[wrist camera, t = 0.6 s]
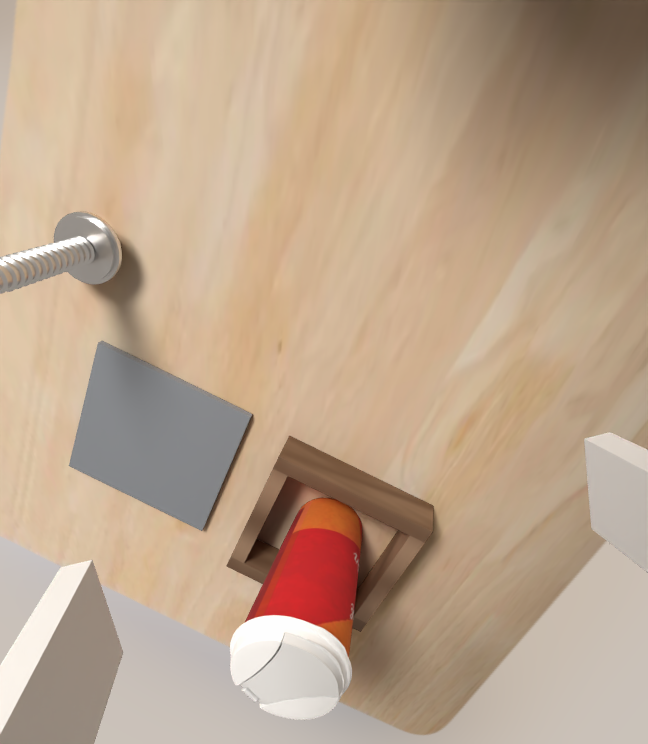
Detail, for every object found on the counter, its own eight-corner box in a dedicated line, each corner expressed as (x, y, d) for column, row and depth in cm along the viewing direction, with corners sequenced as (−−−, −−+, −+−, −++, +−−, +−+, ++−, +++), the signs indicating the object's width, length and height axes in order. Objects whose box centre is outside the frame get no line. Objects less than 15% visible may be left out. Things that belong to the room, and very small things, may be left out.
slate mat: (101, 340, 40) (98, 343, 40) (252, 414, 40) (250, 417, 40) (72, 462, 46) (68, 465, 46) (204, 527, 46) (201, 530, 46)
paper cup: (324, 573, 45) (281, 738, 33) (266, 512, 44) (197, 661, 32) (395, 536, 42) (377, 703, 30) (335, 469, 41) (289, 615, 28)
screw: (145, 233, 36) (122, 289, 38) (85, 194, 36) (65, 253, 38) (5, 277, 24) (-17, 355, 27) (-86, 220, 24) (-101, 303, 26)
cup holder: (289, 435, 40) (278, 456, 38) (433, 505, 40) (432, 531, 38) (238, 541, 46) (226, 566, 43) (365, 602, 46) (360, 631, 43)
